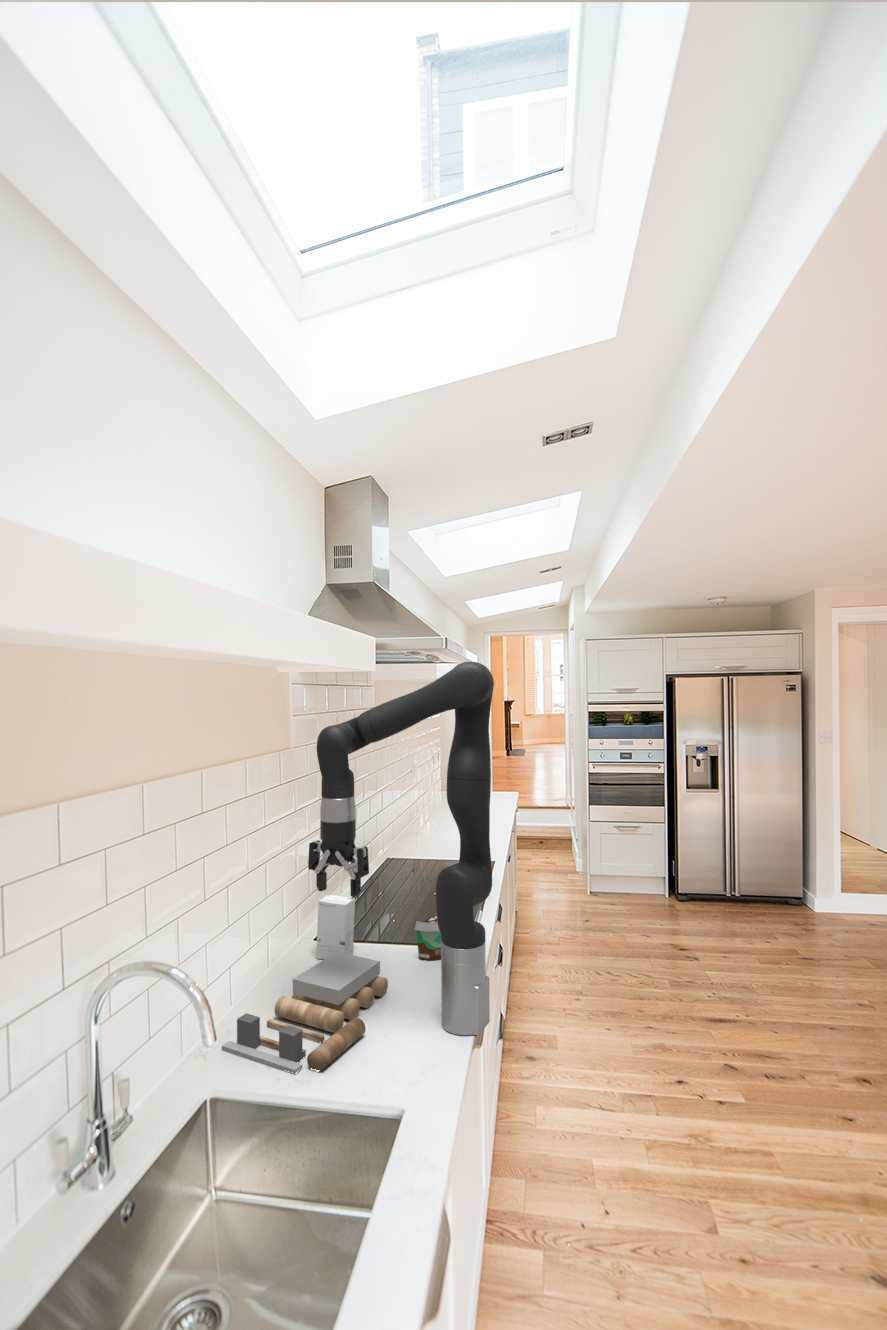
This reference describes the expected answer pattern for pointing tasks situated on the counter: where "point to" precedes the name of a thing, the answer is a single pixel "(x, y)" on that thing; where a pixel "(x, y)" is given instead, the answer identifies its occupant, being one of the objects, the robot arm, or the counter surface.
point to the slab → (336, 977)
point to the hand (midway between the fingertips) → (338, 893)
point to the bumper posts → (251, 1040)
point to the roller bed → (322, 1012)
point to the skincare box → (335, 926)
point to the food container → (429, 939)
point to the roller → (336, 1044)
